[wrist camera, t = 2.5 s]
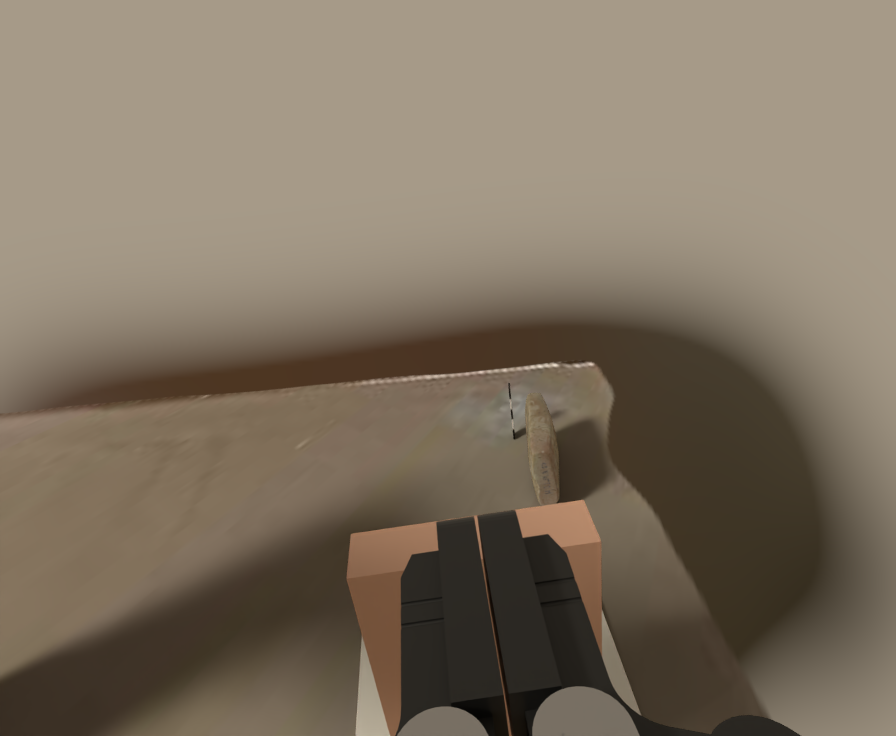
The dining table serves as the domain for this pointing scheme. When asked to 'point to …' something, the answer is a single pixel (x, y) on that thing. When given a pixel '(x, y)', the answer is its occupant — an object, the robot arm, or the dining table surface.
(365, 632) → the tile
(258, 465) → the dining table surface
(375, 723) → the mat
